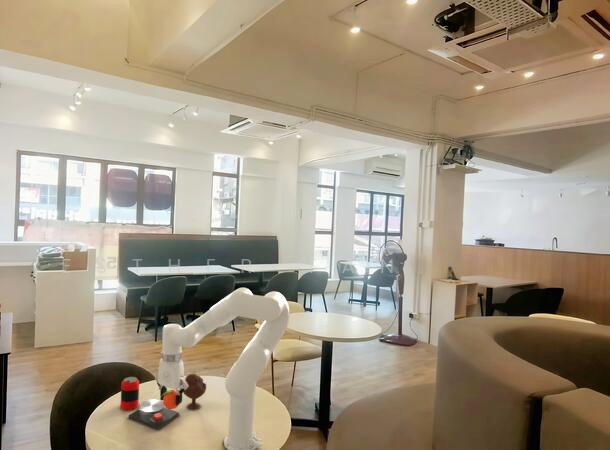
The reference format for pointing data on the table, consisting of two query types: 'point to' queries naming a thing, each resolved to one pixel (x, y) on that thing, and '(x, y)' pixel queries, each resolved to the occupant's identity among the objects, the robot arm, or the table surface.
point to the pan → (151, 406)
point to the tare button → (158, 416)
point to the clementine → (170, 399)
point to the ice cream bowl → (194, 389)
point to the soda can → (129, 393)
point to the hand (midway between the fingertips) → (171, 400)
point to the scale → (149, 418)
